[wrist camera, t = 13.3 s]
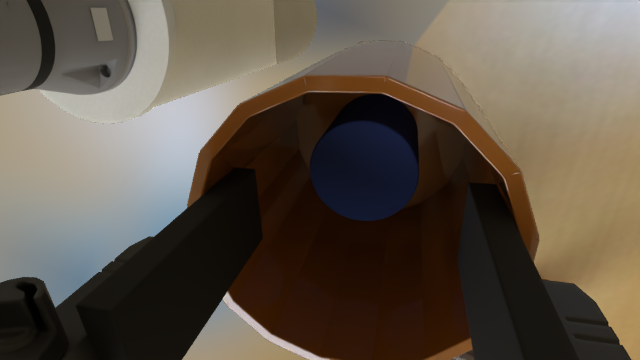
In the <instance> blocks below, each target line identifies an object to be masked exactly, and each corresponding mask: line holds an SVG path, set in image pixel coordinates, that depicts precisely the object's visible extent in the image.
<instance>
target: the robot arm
mask: <svg viewBox="0 0 640 360" xmlns="http://www.w3.org/2000/svg"><path fill="white" fill-rule="evenodd" d="M136 50H137V33H136V26H135V21H134V17H133V13H132V10H131V7H130V5H129V2H128V0H0V95H5V94H10V93H15V92H19V91H24V90H29V89H39V90H46V91H54V92H61V93H68V94H75V95H90V94H98V93H102V92H106V91H109V90H112V89H114V88H115V87H117V86H119V85H120V84H121V83H122V82H123V81H124V80H125V79H126V78H127V76H128V75H129V73H130V71H131V69H132V67H133V64H134V61H135V57H136ZM262 239H263V234H262V225H261V216H260V207H259V198H258V189H257V180H256V171H255V169H250V168H235V167H234V168H233V169H232V170H231V171H230V172H228V173H227V174H226V175H225V176H224V177H223V178H222V179H220V180H219V181H218V182H217V183H216V184H215V185H213V186H212V187H211V188H210V189H209V190H208V191H207V192H205V193H204V194H203V195H202V196H201V197H200V198H198V199H197V200H196V201H195V202H194V203H193V204H192V205H190V206H189V207H188V208H187V209H186V210H185V211H184V212H182V213H181V214H180V215H179V216H178V217H177V218H175V219H174V220H173V221H172V222H171V223H170V224H169V225H167V226H166V227H165V228H164V229H163V230H162V231H161V232H159V233H158V234H157V235H156V236H155V237H147V238H145V239H143V240H141V241H139V242H137V243H135V244H133V245H132V246H130V247H128V248H127V249H126V250H125V251H124V252H123V253H121V254H120V255H119V256H118V257H116V258H115V261H114V262H113V261H112V262H110V263H109V264H108V265H107V266H105V267H104V268H103V269H102V272H98V273H97V274H96V275H95V276H93V277H92V278H91V279H90V280H89V281H88V282H87V283H85V284H84V285H83V286H81V287H80V288H79V289H78V290H76V291H75V292H74V293H73V294H72V295H70V296H69V297H68V298H67V299H66V300H64V301H63V302H62V303H61V304H60V305H58V306H57V307H56V308H55V306H54V304H53V302H52V300H51V297H50V295H49V292H48V290H47V288H46V285H45V283H44V281H42V280H40V279H38V278H34V277H22V278H17V279H11V280H7V281H4V282H1V283H0V360H182V359H183V357H184V356H185V354H186V353H187V351H188V350H189V348H190V347H191V345H192V344H193V342H194V341H195V339H196V338H197V336H198V335H199V333H200V332H201V330H202V329H203V327H204V326H205V324H206V323H207V321H208V320H209V318H210V317H211V315H212V314H213V312H214V311H215V309H216V308H217V306H218V305H219V303H220V302H221V300H222V299H223V297H224V296H225V294H226V293H227V291H228V290H229V288H230V287H231V285H232V284H233V282H234V281H235V279H236V278H237V276H238V275H239V273H240V272H241V270H242V269H243V267H244V266H245V264H246V263H247V261H248V260H249V258H250V257H251V255H252V254H253V252H254V251H255V249H256V248H257V246H258V245H259V243H260V242H261V240H262ZM457 262H458V267H459V273H460V279H461V285H462V291H463V296H464V302H465V308H466V314H467V320H468V325H469V331H470V337H471V343H472V348H473V354H474V360H631V358H630V357H629V355H628V353H627V352H626V350H625V349H624V347H623V345H620V343H619V339H618V337H617V336H616V334H615V333H614V331H613V329H612V328H611V327H609V326H608V321H607V320H606V318H605V316H604V315H603V313H602V312H601V310H600V308H599V307H598V305H597V304H596V302H595V301H594V300H593V299H591V298H590V297H589V296H588V295H587V294H586V293H584V292H583V291H582V290H581V289H580V288H578V287H577V286H576V285H575V284H573V283H564V282H555V281H546V280H541V277H540V275H539V273H538V271H537V269H536V267H535V265H534V263H533V261H532V258H531V256H530V254H529V252H528V250H527V248H526V246H525V244H524V242H523V239H522V237H521V235H520V233H519V231H518V229H517V227H516V225H515V223H514V220H513V218H512V216H511V214H510V212H509V210H508V208H507V206H506V204H505V201H504V199H503V197H502V195H501V193H500V191H499V189H498V187H497V184H485V183H470V182H468V189H467V196H466V202H465V209H464V216H463V222H462V229H461V236H460V243H459V249H458V256H457Z"/></svg>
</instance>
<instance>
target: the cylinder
mask: <svg viewBox="0 0 640 360" xmlns="http://www.w3.org/2000/svg"><path fill="white" fill-rule="evenodd" d="M310 176H311V180H312V184H313V186H314V189H315V190H316V192H317V194H318V196H319V197H320V198H321V200H322V201H323V202H324V203H325V204H326V205H327V206H328V207H329V208H331V209H332V210H333V211H335V212H336V213H338V214H340V215H342V216H345V217H347V218H350V219H354V220H360V221H373V220H379V219H383V218H386V217H389V216H391V215H393V214H395V213H396V212H398V211H399V210H401V209H402V208H403V207H404V206H405V205H406V204H407V203H408V202H409V201H410V199H411V198H412V196H413V195H414V193H415V190H416V188H417V185H418V180H419V150H418V129H417V125H416V122H415V119H414V117H413V115H412V114H411V112H410V111H409V110H408V109H407V107H405V106H404V105H403V104H402V103H401V102H399V101H398V100H396V99H394V98H391V97H389V96H385V95H379V94H370V95H364V96H361V97H358V98H356V99H354V100H352V101H351V102H349V103H348V104H347V105H346V106H344V108H343V109H342V110H341V111H340V112H339V114H338V115H337V116H336V118H335V119H334V120H333V122H332V123H331V125H330V126H329V127H328V129H327V130H326V131H325V133H324V134H323V135H322V137H321V138H320V139H319V141H318V142H317V144H316V146H315V148H314V150H313V152H312V155H311V160H310Z"/></svg>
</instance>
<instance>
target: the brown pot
mask: <svg viewBox="0 0 640 360" xmlns="http://www.w3.org/2000/svg"><path fill="white" fill-rule="evenodd" d="M370 94H379V95H385V96H389V97H391V98H394V99H396V100H398V101H399V102H401V103H402V104H403V105H404V106H405V107H407V109H408V110H409V111H410V112H411V114H412V115H413V117H414V119H415V122H416V125H417V129H418V150H419V180H418V185H417V188H416V190H415V193H414V195H413V196H412V198H411V199H410V201H409V202H408V203H407V204H406V205H405V206H404V207H403V208H402V209H401V210H399V211H398V212H396V213H395V214H393V215H391V216H389V217H386V218H383V219H379V220H373V221H360V220H354V219H350V218H347V217H345V216H342V215H340V214H338V213H336V212H335V211H333V210H332V209H331V208H329V207H328V206H327V205H326V204H325V203H324V202H323V201H322V200H321V198H320V197H319V196H318V194H317V192H316V190H315V189H314V186H313V184H312V180H311V176H310V160H311V155H312V152H313V150H314V148H315V146H316V144H317V142H318V141H319V139H320V138H321V137H322V135H323V134H324V133H325V131H326V130H327V129H328V127H329V126H330V125H331V123H332V122H333V120H334V119H335V118H336V116H337V115H338V114H339V112H340V111H341V110H342V109H343V108H344V106H346V105H347V104H348V103H349V102H351V101H352V100H354V99H356V98H358V97H361V96H364V95H370ZM234 167H235V168H250V169H255V171H256V180H257V189H258V198H259V207H260V216H261V225H262V234H263V239H262V240H261V242H260V243H259V245H258V246H257V248H256V249H255V251H254V252H253V254H252V255H251V257H250V258H249V260H248V261H247V263H246V264H245V266H244V267H243V269H242V270H241V272H240V273H239V275H238V276H237V278H236V279H235V281H234V282H233V284H232V285H231V287H230V288H229V290H228V291H227V293H226V294H225V296H224V297H223V301H224V302H225V304H226V305H227V306H228V307H229V308H231V309H232V310H233V311H234V312H235V313H236V314H237V315H239V316H240V317H241V318H242V319H243V320H244V321H246V322H247V323H248V324H249V325H250V326H251V327H252V328H254V329H255V330H256V331H257V332H258V333H259V334H261V335H262V336H263V337H264V338H265V339H268V341H270V342H272V343H274V344H276V345H278V346H280V347H283V348H285V349H287V350H289V351H291V352H293V353H295V354H298V355H299V356H302V357H304V358H306V359H308V360H451V359H453V358H455V357H457V356H459V355H462V354H464V353H466V352H468V351H470V350H472V349H473V348H472V343H471V337H470V331H469V325H468V320H467V314H466V308H465V302H464V296H463V291H462V285H461V279H460V273H459V267H458V262H457V256H458V249H459V243H460V236H461V229H462V222H463V216H464V209H465V202H466V196H467V189H468V182H470V183H485V184H497V187H498V189H499V191H500V193H501V195H502V197H503V199H504V201H505V204H506V206H507V208H508V210H509V212H510V214H511V216H512V218H513V220H514V223H515V225H516V227H517V229H518V231H519V233H520V235H521V237H522V239H523V242H524V244H525V246H526V248H527V250H528V252H529V254H530V256H531V258H532V261H533V263H534V259H535V255H536V251H537V247H538V243H539V234H538V230H537V226H536V223H535V219H534V215H533V212H532V208H531V204H530V201H529V197H528V193H527V190H526V186H525V182H524V179H523V175H522V172H521V170H520V168H519V166H518V165H517V163H516V162H515V160H514V159H513V157H512V156H511V154H510V153H509V151H508V150H507V148H506V147H505V145H504V144H503V142H502V141H501V139H500V138H499V136H498V135H497V133H496V132H495V130H494V129H493V127H492V126H491V124H490V123H489V121H488V120H487V118H486V117H485V115H484V114H483V112H482V111H481V109H480V108H479V106H478V105H477V103H476V102H475V100H474V99H473V97H472V96H471V94H470V93H469V91H468V90H467V88H466V87H465V85H464V84H463V83H462V82H461V81H460V80H459V79H458V78H457V77H456V75H455V74H454V73H453V72H452V70H451V69H450V68H449V67H448V66H447V65H446V64H445V63H444V62H443V61H442V60H441V59H440V58H439V57H437V56H435V55H433V54H431V53H429V52H427V51H426V50H424V49H422V48H420V47H417V46H414V45H411V44H408V43H405V42H401V41H387V40H379V41H369V42H359V43H357V44H355V45H353V46H351V47H348V48H346V49H344V50H342V51H340V52H337V53H335V54H333V55H331V56H329V57H326V58H325V59H323V60H321V61H319V62H317V63H315V64H313V65H311V66H310V67H308V68H306V69H304V70H302V71H300V72H298V73H297V74H295V75H293V76H291V77H289V78H287V79H285V80H284V81H281V82H280V83H278V84H276V85H274V86H272V87H270V88H268V89H267V90H265V91H263V92H261V93H259V94H257V95H255V96H253V97H252V98H250V99H248V100H246V101H244V102H242V103H240V104H239V105H238V106H237V107H236V108H235V109H234V110H233V112H232V113H231V114H230V115H229V116H228V118H227V119H226V120H225V121H224V123H223V124H222V125H221V126H220V127H219V129H218V130H217V131H216V132H215V133H214V135H213V136H212V137H211V138H210V139H209V141H208V142H207V143H206V144H205V146H204V147H203V148H202V149H201V150H200V153H199V155H198V160H197V165H196V169H195V173H194V177H193V182H192V186H191V191H190V195H189V200H188V204H187V206H188V207H189V206H190V205H192V204H193V203H194V202H195V201H196V200H197V199H198V198H200V197H201V196H202V195H203V194H204V193H205V192H207V191H208V190H209V189H210V188H211V187H212V186H213V185H215V184H216V183H217V182H218V181H219V180H220V179H222V178H223V177H224V176H225V175H226V174H227V173H228V172H230V171H231V170H232V169H233V168H234ZM188 207H187V208H188Z"/></svg>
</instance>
